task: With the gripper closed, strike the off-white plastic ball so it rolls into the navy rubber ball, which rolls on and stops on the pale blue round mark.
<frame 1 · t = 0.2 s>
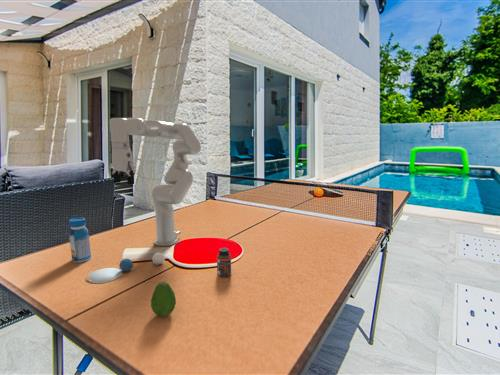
hand: (124, 183, 148), 36 cm above the table, tool pointing down, fingers open, 9 cm apart
object ball: (126, 265, 140), on the table
supplement bottle: (224, 275, 136), on the table
avocado: (164, 315, 108), on the table
beverage bottle: (81, 259, 153), on the table
cue ball: (158, 258, 147), on the table
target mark: (104, 275, 137), on the table
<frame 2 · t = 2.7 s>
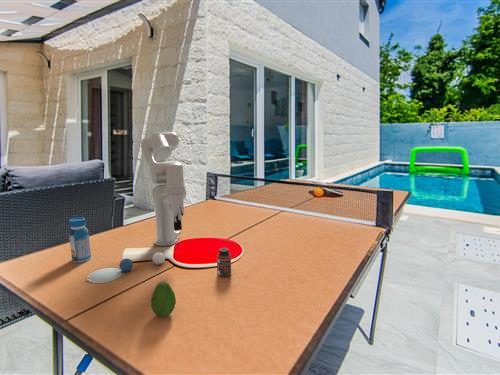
hand: (177, 229, 148), 15 cm above the table, tool pointing down, fingers closed
nothing on the table moved.
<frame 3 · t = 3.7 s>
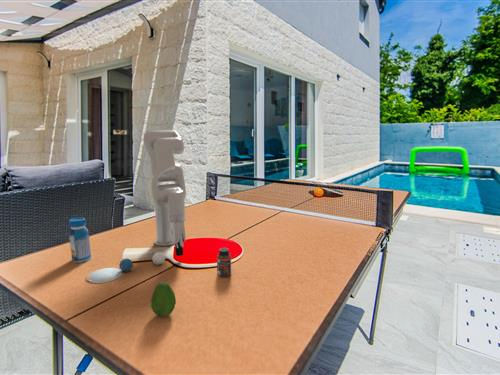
hand: (179, 255, 151), 3 cm above the table, tool pointing down, fingers closed
nothing on the table moved.
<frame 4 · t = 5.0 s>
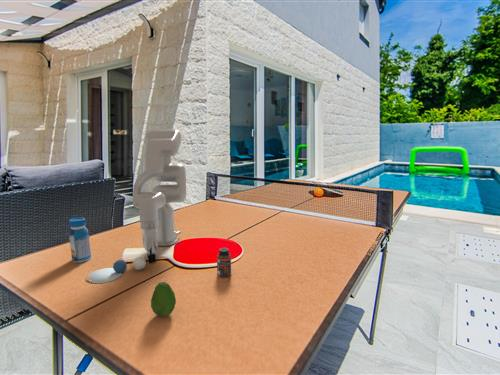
hand: (152, 262, 146), 2 cm above the table, tool pointing down, fingers closed
object ball: (120, 266, 139), on the table
cue ball: (139, 263, 142), on the table
everything else where it was.
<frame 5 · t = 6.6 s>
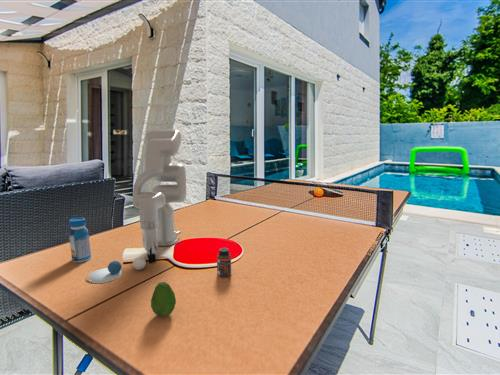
hand: (152, 262, 146), 2 cm above the table, tool pointing down, fingers closed
object ball: (114, 267, 138), on the table
everything else where it was.
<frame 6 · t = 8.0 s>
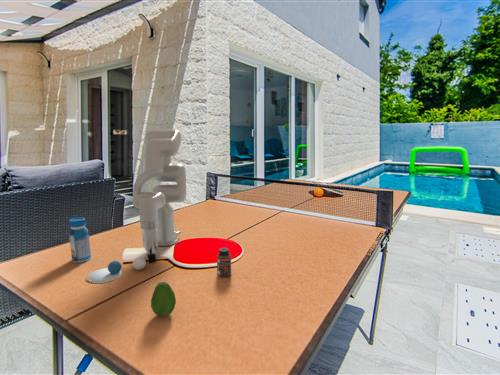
hand: (152, 262, 146), 2 cm above the table, tool pointing down, fingers closed
nothing on the table moved.
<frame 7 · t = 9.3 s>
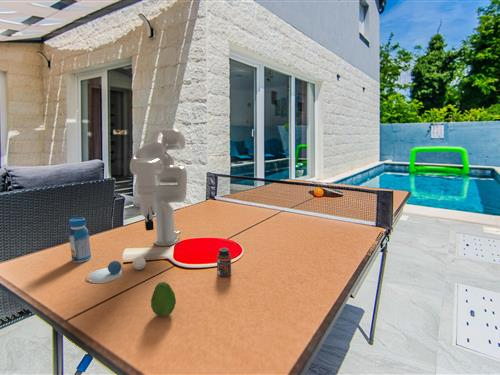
hand: (149, 229, 143), 17 cm above the table, tool pointing down, fingers closed
nothing on the table moved.
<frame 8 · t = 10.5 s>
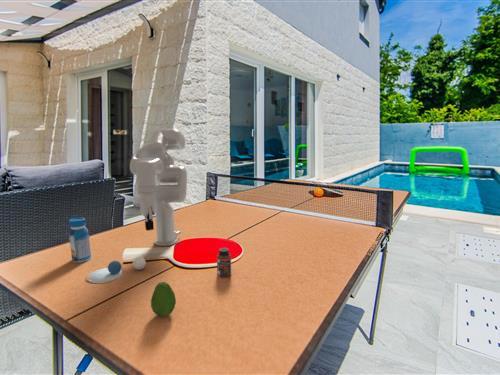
hand: (149, 229, 142), 17 cm above the table, tool pointing down, fingers closed
nothing on the table moved.
at the end: object ball 4.4 cm from the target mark (horizontally); object ball never touched the robot; cue ball first touched object ball at 4.6 s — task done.
